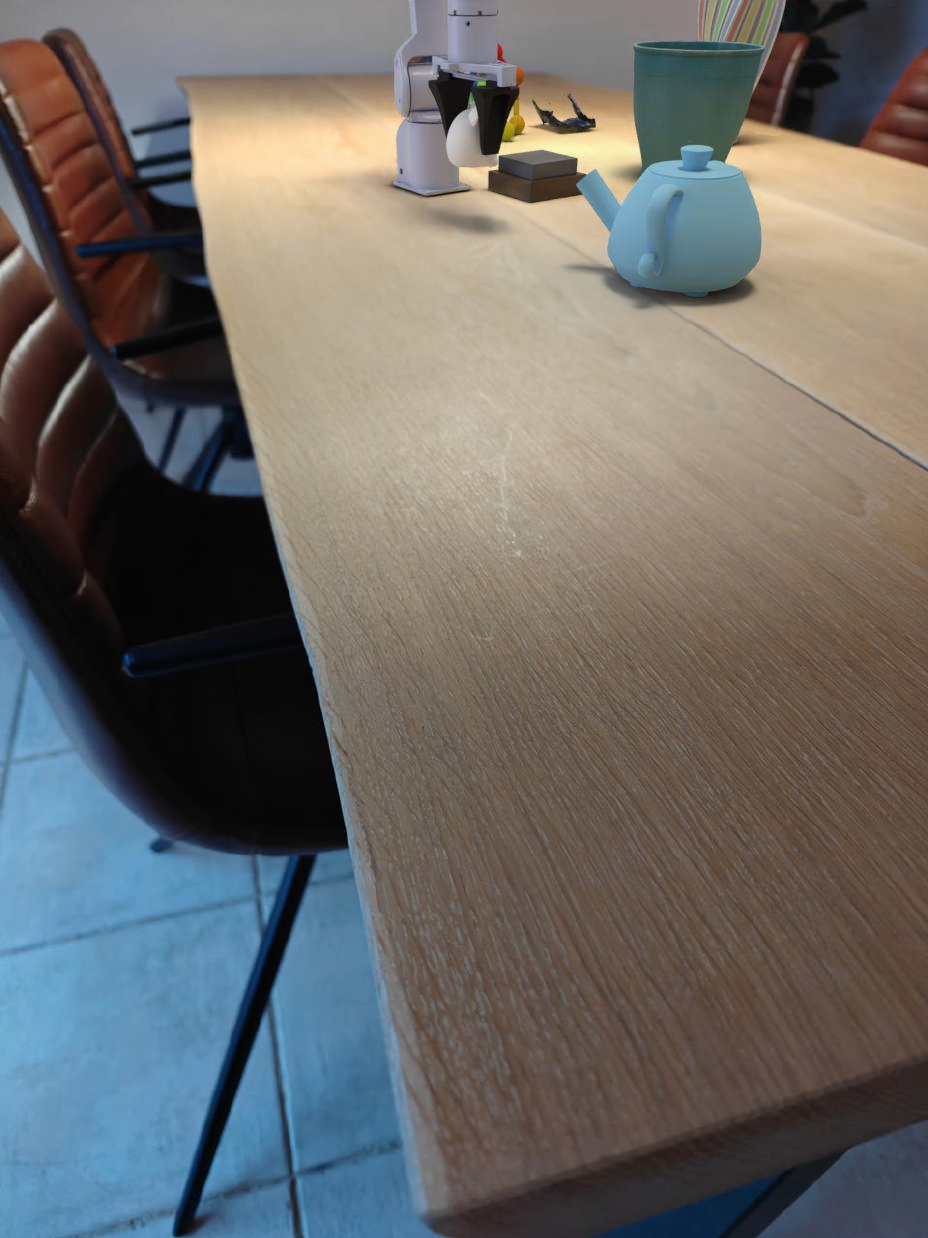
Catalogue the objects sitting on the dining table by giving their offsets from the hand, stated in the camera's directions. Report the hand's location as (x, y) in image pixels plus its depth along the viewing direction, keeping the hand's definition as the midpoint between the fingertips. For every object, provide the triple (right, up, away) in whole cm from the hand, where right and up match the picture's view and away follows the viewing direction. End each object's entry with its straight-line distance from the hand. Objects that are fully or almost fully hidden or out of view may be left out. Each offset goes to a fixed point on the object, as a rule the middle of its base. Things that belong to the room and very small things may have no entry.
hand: (472, 149), depth 107 cm
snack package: (+18, +37, +62) cm, 74 cm away
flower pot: (+32, +10, +26) cm, 42 cm away
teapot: (+20, -21, -14) cm, 32 cm away
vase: (+45, +27, +49) cm, 72 cm away
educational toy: (+4, +32, +55) cm, 64 cm away
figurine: (0, -1, +1) cm, 2 cm away
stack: (+9, +4, +19) cm, 21 cm away
